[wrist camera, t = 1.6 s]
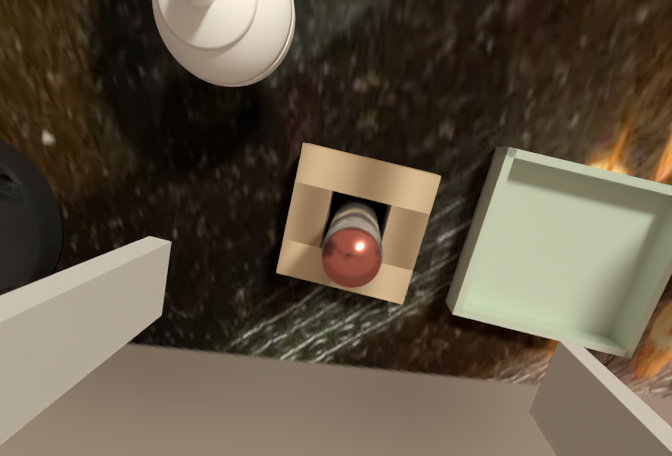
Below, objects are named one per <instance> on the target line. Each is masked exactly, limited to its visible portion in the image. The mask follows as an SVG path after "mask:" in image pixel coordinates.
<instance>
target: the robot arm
mask: <svg viewBox="0 0 672 456" xmlns="http://www.w3.org/2000/svg"><path fill="white" fill-rule="evenodd" d="M62 239H63V232H62V221H61V216H60V212H59V208H58V205H57V202H56V200H55V197H54V195H53V193H52V191H51V189H50V187H49V185H48V184H47V182H46V181H45V179H44V178H43V176H42V175H41V173H40V172H39V171H38V170H37V168H36V167H35V166H34V165H33V164H32V163H31V162H30V161H29V160H28V159H27V158H26V157H25V156H24V155H22V154H21V153H20V152H19V151H17V150H16V149H15V148H13V147H12V146H10V145H9V144H7V143H5V142H3V141H1V140H0V445H1V444H2V443H3V442H5V441H6V440H7V439H8V438H9V437H11V436H12V435H13V434H14V433H16V432H17V431H18V430H19V429H21V428H22V427H23V426H25V424H27V423H28V422H30V421H31V420H32V419H33V418H34V417H36V416H37V415H38V414H39V413H41V412H42V411H43V410H44V409H46V408H47V407H48V406H49V405H51V404H52V403H53V402H54V401H56V400H57V399H58V398H59V397H61V396H62V395H63V394H64V393H65V392H67V391H68V390H69V389H70V388H72V387H73V386H74V385H75V384H77V383H78V382H79V381H80V380H82V379H83V378H84V377H85V376H87V375H88V374H89V373H90V372H92V371H93V370H94V369H95V368H97V367H98V366H99V365H100V364H101V363H103V362H104V361H105V360H106V359H108V358H109V357H110V356H111V355H113V354H114V353H115V352H116V351H118V350H119V349H120V348H121V347H123V346H124V345H125V344H126V343H128V342H129V341H130V340H131V339H133V338H134V337H135V336H136V335H138V334H139V333H140V332H141V331H142V330H144V329H145V328H146V327H147V326H149V325H150V324H151V323H152V322H154V321H155V320H156V319H157V318H159V317H160V316H161V315H162V307H163V300H164V292H165V285H166V278H167V270H168V263H169V255H170V248H171V242H170V241H166V240H162V239H159V238H155V237H151V236H149V237H146V238H144V239H141V240H139V241H136V242H134V243H131V244H129V245H126V246H124V247H121V248H119V249H116V250H114V251H111V252H109V253H106V254H104V255H101V256H99V257H96V258H94V259H91V260H89V261H86V262H83V263H81V264H78V265H76V266H73V267H71V268H68V269H66V270H63V271H61V272H58V273H56V274H53V275H51V273H52V272H53V270H54V269H55V267H56V264H57V262H58V260H59V257H60V253H61V248H62ZM50 275H51V276H50ZM530 413H531V415H532V416H533V418H534V420H535V421H536V423H537V424H538V426H539V428H540V429H541V431H542V432H543V434H544V435H545V437H546V439H547V441H548V442H549V444H550V445H551V447H552V448H553V450H554V452H555V454H556V455H557V456H672V428H671V427H670V426H669V425H668V424H667V423H666V422H665V421H663V419H662V418H660V417H659V416H658V415H657V414H656V413H655V412H654V411H653V410H652V409H651V408H649V407H648V406H647V405H646V404H645V403H644V402H643V401H642V400H641V399H640V398H639V397H638V396H636V395H635V394H634V393H633V392H632V391H631V390H630V389H629V388H628V387H627V386H626V385H624V384H623V383H622V382H621V381H620V380H619V379H618V378H617V377H616V376H615V375H614V374H612V373H611V372H610V371H609V370H608V369H607V368H606V367H605V366H604V365H603V364H601V363H600V362H599V361H598V360H597V359H596V358H595V357H594V356H593V355H592V354H591V353H589V352H588V351H587V350H586V349H585V348H584V347H583V346H580V345H576V344H572V343H568V342H564V341H560V340H559V342H558V344H557V347H556V349H555V351H554V354H553V356H552V358H551V361H550V363H549V366H548V368H547V370H546V373H545V375H544V378H543V380H542V382H541V385H540V387H539V389H538V392H537V394H536V397H535V399H534V401H533V404H532V406H531V409H530Z"/></svg>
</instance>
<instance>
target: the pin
mask: <svg viewBox="0 0 672 456" xmlns="http://www.w3.org/2000/svg"><path fill="white" fill-rule="evenodd" d="M321 258H322V265H323V268H324V271H325V273H326V274H327V276H328V277H329V278H330V279H331V280H332V281H333V282H335V283H336V284H338V285H340V286H343V287H348V288H356V287H361V286H364V285H366V284H368V283H369V282H370V281H372V280H373V279H374V278H375V277H376V275H377V274H378V272H379V269H380V266H381V264H382V260H383V248H382V242H381V237H380V232H379V227H378V221H377V216H376V212H375V210H374V208H373V207H372V205H371V204H370V203H368V202H367V201H365V200H363V199H359V198H353V199H349V200H346V201H345V202H343V203H342V204H341V205H340V206H339V207H338V209H337V211H336V213H335V216H334V218H333V221H332V223H331V225H330V228H329V230H328V232H327V235H326V237H325V240H324V242H323V245H322V249H321Z"/></svg>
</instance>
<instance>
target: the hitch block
mask: <svg viewBox="0 0 672 456" xmlns="http://www.w3.org/2000/svg"><path fill="white" fill-rule="evenodd" d="M440 179H441V176H439V175H436V174H434V173H430V172H425V171H421V170H417V169H413V168H409V167H405V166H401V165H396V164H392V163H388V162H384V161H380V160H376V159H372V158H368V157H363V156H359V155H355V154H351V153H347V152H343V151H339V150H334V149H330V148H326V147H322V146H318V145H314V144H310V143H303V146H302V151H301V156H300V160H299V165H298V170H297V175H296V180H295V185H294V189H293V194H292V199H291V204H290V209H289V213H288V218H287V223H286V228H285V233H284V238H283V242H282V247H281V252H280V257H279V262H278V266H277V271H276V273H279V274H283V275H287V276H291V277H295V278H299V279H303V280H307V281H311V282H315V283H319V284H323V285H327V286H331V287H335V288H339V289H343V290H347V291H351V292H355V293H359V294H363V295H367V296H371V297H375V298H379V299H383V300H387V301H391V302H395V303H399V304H403V302H404V299H405V295H406V292H407V289H408V285H409V282H410V279H411V275H412V272H413V269H414V265H415V262H416V259H417V255H418V252H419V249H420V245H421V242H422V239H423V235H424V232H425V229H426V226H427V222H428V219H429V216H430V212H431V209H432V206H433V202H434V199H435V196H436V192H437V189H438V186H439V182H440ZM335 191H336V192H340V193H344V194H348V195H352V196H356V197H360V198H364V199H368V200H373V201H377V202H381V203H385V204H388V205H387V209H386V212H385V216H384V220H383V224H382V227H381V231H380V237H381V242H382V248H383V260H382V264H381V266H380V269H379V272H378V274H377V275H376V277H375V278H374V279H373V280H372V281H370V282H369V283H368V284H366V285H364V286H361V287H356V288H348V287H343V286H340V285H338V284H336V283H335V282H333V281H332V280H331V279H330V278H329V277H328V276H327V274H326V273H325V271H324V268H323V265H322V258H321V249H322V245H323V242H324V240H325V238H324V234H325V230H326V226H327V222H328V217H329V213H330V209H331V205H332V200H333V196H334V192H335Z"/></svg>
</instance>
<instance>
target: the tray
mask: <svg viewBox="0 0 672 456" xmlns="http://www.w3.org/2000/svg"><path fill="white" fill-rule="evenodd" d="M671 274H672V186H670V185H666V184H661V183H657V182H653V181H649V180H645V179H640V178H636V177H632V176H628V175H624V174H620V173H615V172H611V171H607V170H603V169H599V168H594V167H590V166H586V165H582V164H578V163H574V162H569V161H565V160H561V159H557V158H553V157H548V156H544V155H540V154H536V153H532V152H527V151H523V150H519V149H515V148H511V147H496V149H495V152H494V155H493V158H492V161H491V164H490V167H489V170H488V173H487V176H486V179H485V182H484V185H483V188H482V191H481V194H480V197H479V200H478V203H477V206H476V209H475V212H474V215H473V219H472V222H471V225H470V228H469V231H468V234H467V237H466V240H465V243H464V246H463V249H462V252H461V255H460V258H459V261H458V264H457V267H456V270H455V273H454V276H453V279H452V282H451V285H450V288H449V291H448V294H447V297H446V300H445V301H446V303H447V305H448V307H449V309H450V311H451V313H452V314H453V315H457V316H461V317H465V318H469V319H473V320H477V321H481V322H485V323H489V324H493V325H497V326H501V327H505V328H509V329H513V330H517V331H521V332H525V333H529V334H533V335H537V336H541V337H545V338H549V339H553V340H557V341H559V340H560V341H564V342H568V343H572V344H576V345H580V346H583V347H585V348H589V349H593V350H597V351H601V352H605V353H609V354H613V355H617V356H621V357H625V358H629V359H631V358H632V355H633V353H634V351H635V349H636V347H637V345H638V343H639V341H640V339H641V337H642V335H643V333H644V330H645V328H646V326H647V324H648V322H649V320H650V318H651V316H652V314H653V312H654V310H655V307H656V305H657V303H658V301H659V299H660V297H661V295H662V293H663V291H664V289H665V287H666V285H667V282H668V280H669V278H670V276H671Z"/></svg>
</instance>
